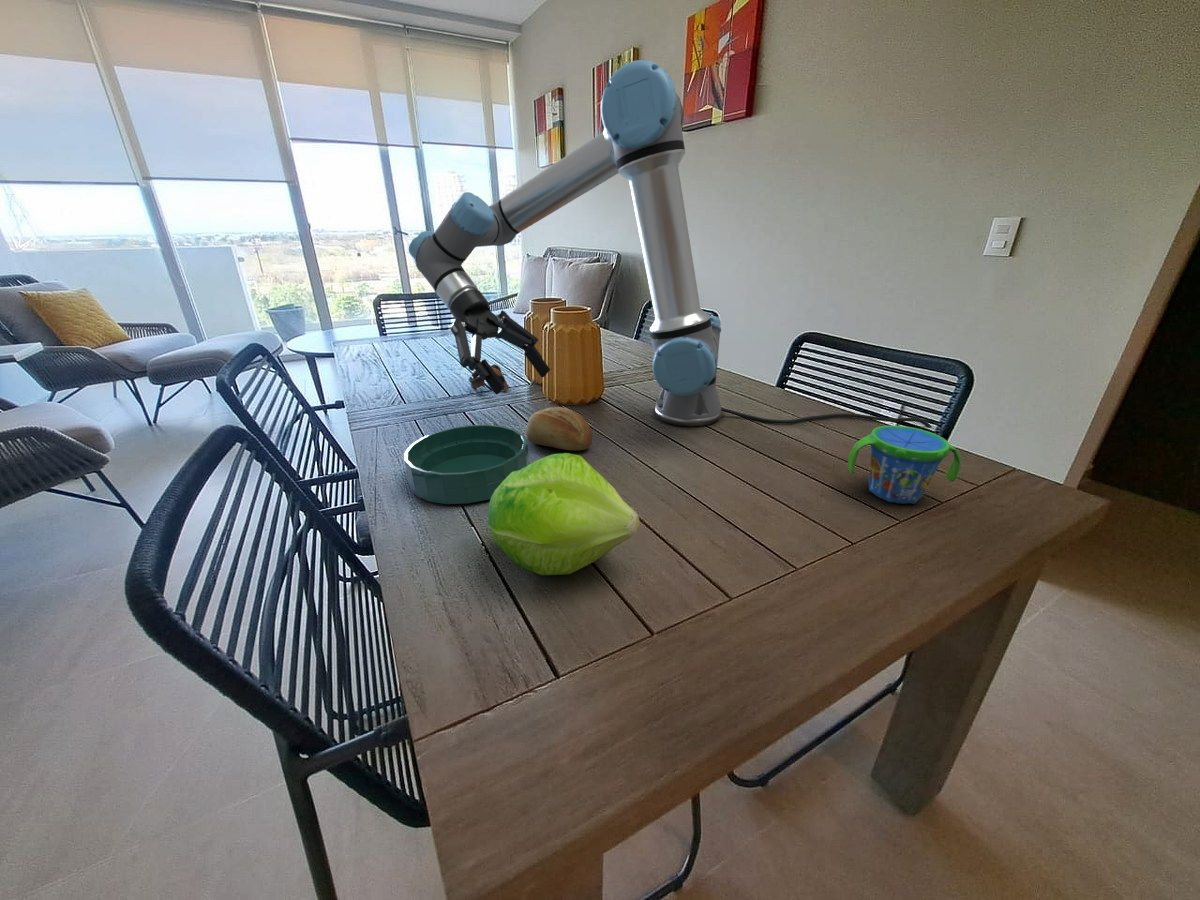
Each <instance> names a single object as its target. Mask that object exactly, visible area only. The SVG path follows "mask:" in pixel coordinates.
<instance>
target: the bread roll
mask: <svg viewBox="0 0 1200 900" xmlns="http://www.w3.org/2000/svg"><path fill="white" fill-rule="evenodd" d="M525 436H526V438H527V440H528V441H529V442H530V443H532V444H535V445H539V446H545V447H550V448H555V449H559V450H560V449H561V450H563V451H575V452H578V451H582V450H587V449H589V448H590V447H591V445H593V439H594V438H593V437H594V435H593V432H592V428H591V426H590V424H589V422H588V421H587V420H586V419H585V418H584V417H583V415H580V414H579V413H578V412H576V411H574V410H572V409H570V408H568V407H563V406H552V407H546V408H543V409H539V410H537V411H535V412H533V413H532V414H531V415H530V416H529V419H528V421H527V424H526V428H525Z"/></svg>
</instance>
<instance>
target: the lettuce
mask: <svg viewBox="0 0 1200 900" xmlns="http://www.w3.org/2000/svg"><path fill="white" fill-rule="evenodd" d="M487 525H488V529H489V532H490V535H491V538H492V541H493V542H494V544H495V545H496V546H497V547H498V548H499V549H500V550H501V551H502V552H503V553H504V554H505V555H506V556H507V558H509V560H510V561H512V563H513V564H514V565H516V566H518V567H521V568H523V569H525V570H528V571H531V572H533V573H535V574H538V575H540V576H555V575H556V576H559V575H571V574H573V573H575V572H578V571H579V570H581V569H583V568H585V567H587V566H589V565H591V564H592V563H594V562H596V561H597V560H599V559H600V558H602V557H603V556H605V555H606V554H608V553H609V552H610V551H612V550H613V549H614V548H615V547H617V546H619V545H621V544H622V543H624V542H625V541H627V540H629V539H630V538H632V537H633V536H634V535H635V534H636V533H637V532H638V530H639V528H640V517H639V515H638V514H637V512H636V511H635V509H633V508H632V507H631V506H630V505H629V504H628V503H627V502H626V501H625V500H624V499H623V498H622V497H621V496H620V494H619V493H618V491H617V490H616V489H615V488H614V487H613V486H612V485H611V484H610V482H609V481H608V480H607V479H606V478H605V477H603V476H602V474H601V473H599V472H598V471H597V470H596V469H594V468H593V466H592V465H590V463H588V462H587V461H586V460H585V459H584V457H582V456H581V455H580V454H574V453H569V452H562V453H552V454H550V455H546V456H544V457H541V458H538V459H536V460H534V461H532V462H531V463H529V465H528V466H526V467H524V468H522V469H521V470H517V471H514V472H512V473H511V474H510V475H509V476H508V477H507V478H506V479H505V480H504V481H503V482H502V483H501V484H500V485H499V486H498V487H497V489H496V490H495V491H494V493H493V495H492V497H491V499H489V504H488V518H487Z"/></svg>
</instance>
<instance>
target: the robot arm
mask: <svg viewBox="0 0 1200 900" xmlns="http://www.w3.org/2000/svg"><path fill="white" fill-rule="evenodd" d="M673 81H674V80H673V79H672V78H671V75H669V73H668V72H667V71H666V70H664V68H663V67H661V66H659V64H657V63H655V62H653V61H650V60H647V59H644V60H643V59H641V60H640V59H637V60H632V61H630V62H627V63H625V64H623V65H622V66H620V67H619V68H618V69H617V70H615V72H614V73H613V74H612V76H611V77H610V78H609V80H608V81H607V84H606V85H605V88H604V90H603V93H602V96H601V101H600V115H601V121H602V125H603V127H604V128H603V131H602V132H601V133H599V134H597V135H596V136H594V137H593V138H591V139H590V140H588V141H587V142H585V143H584V144H582V145H581V146H579V147H577V148H576V149H575V150H573V151H571V152H570V153H568V154H567V155H565V156H563V157H562V158H561V159H559V160H558V161H556V162H555V163H553V164H551V165H550V166H548V167H547V168H546V169H544V170H543V171H541V172H539V173H538V174H536V175H534V176H533V177H532V178H530V179H528V180H527V181H525V182H524V183H522V184H521V185H519V186H517V188H515V189H513V190H511V191H510V192H509V193H507V194H505V195H504V196H503V197H501V198H500V199H498V200H497V201H495V202H494V203H492V204H490V205H488V204H487V202H485V201H484V200H483V199H482V198H481V197H479V196H478V195H475V193H473V192H470V191H466V192H463V193H462V194H460V195H459V197H458V198H457V199H456V200H455V202H453V203H452V204H451V206H450V209H449V210H448V211H447V213H446V215H445V217H444V218H443V219H442V221H441V222H440V224H439V226H438V227H437V229H435V231H432V230H424V231H421V232H419V233H418V234H417V235H416V236H415V237H413V238H412V239H411V240H410V242H409V244H408V248H407V252H408V255H409V257H410V258H411V260H412V261H413V263H414V264H415V268H417V270H418V272H420V273H421V274H422V276H423V277H424V278H425V280H426V281H427V282H428V283H429V285H430V286H431V287H432V289H433V290H434V292H435V293H436V295H437V296H438V298H439V299H440V301H442V304H443V305H444V306H445V307H446V308H447V310H449V312H450V314H451V315H452V317H453V318H454V320H453V323H452V325H451V327H450V331H451V333H452V335H453V336H454V339H455V344H456V345H455V346H456V350H457V354H458V359H459V363H460V366H461V367H462V368H464V369H466V368H468V370H469V371H471V372H474V371H476V372H477V373H478V374H479V376H480V377H481V379H483V380H485V382H486V383H487V385H488V386H489V388H490V389H491V391H493V393H494V394H495V395H496V396H497V395H499V394H500V393H501V392H502V390H504V386H505V385H504V384H503V383H502V381H501V380H500V379H499V377H498V376H497V374H496V373H495V372H494V370H493V369H492V368H491V366H492V365H491V364H489V362H488V361H487V360H486V359H482V345H483V344H482V342H483V341H484V340H487V339H493V338H496V339H498V340H499V339H500V340H503V341H505V342H506V343H509V344H511V345H513V346H514V347H517V348H518V349H521V351H524V356H525V357H526V359H527V360H528V361H529V363H530V364H531V365H532V367H533V368H534V369H535V371H536V373H538V375H539V376H540V377H541V378H544V377H546V375H547V374H548V373H549V372H550V371H551V368H550V367H549V366H548V364H547V363H546V362H545V360H544V359H543V356H542V354H541V352H539V351H538V349H537V348H536V346H535V345H536V344H537V343H538V342H539V339H538V337H537V336H535V335H534V334H532V333H531V331H529V330H527V329H526V328H525V327H523V326H522V325H521V324H519V323H518V322H517V321H515V320H514V319H512V317H510V315H508V313H507V312H506V311H505V310H502V309H501V310H500V312H499V313H498V314H495V313H493V312H492V311H491V308H490V307H491V306H490V302H489V301H488V300H487V298H486V297H485V296H484V295H483V293H482V292H481V290H479V288H478V286H477V285H476V283H475V282H474V281H473V279H472V278H471V277H470V275H469V274H468V273H467V272H466V271H465V269H464V267H463V266H462V265H463V264H464V262H465V261H466V260H467V259H468V257H470V255H471V253H472V252H473V251H474V250H475V249H476V248H479V247H493V246H494V247H495V246H496V247H502V246H505V245H507V244H510V243H512V242H513V241H514V239H516V237H517V236H518V234H520V233H521V232H523V231H525V230H526V229H528V228H529V227H531V226H533V225H534V224H536V223H538V222H540V221H542V220H543V219H545V218H546V217H548V216H549V215H551V214H553V213H555V212H556V211H558V210H560V209H561V208H563V207H565V206H566V205H568V204H570V203H571V202H573V201H575V200H577V199H578V198H579V197H581V196H583V195H585V194H586V193H588V192H589V191H591V190H593V189H594V188H596V187H598V186H599V185H601V184H603V183H604V182H606V181H608V180H609V179H611V178H613V177H615V176H616V175H620V176H622V177H623V178H624V179H626V180H627V181H628V182H629V189H630V194H631V199H632V204H633V209H634V210H633V211H634V215H635V220H636V225H637V229H638V231H637V232H638V236H639V241H640V245H641V251H642V256H643V262H644V267H645V272H646V276H647V282H648V288H649V292H650V297H651V304H652V308H653V313H654V321H653V323H652V324H651V326H650V328H649V335H650V339H651V345H652V351H653V354H654V355H653V357H652V363H651V364H652V366H651V367H652V373H653V377H654V379H655V381H656V382H657V384H658V385H659V387H661V390H660V393H659V396H658V397H655V407H654V408H655V412H654V413H655V416H656V418H657V419H658V420H660V421H661V422H664V423H666V424H670V425H674V426H679V427H702V426H703V427H704V426H708V425H712V424H714V423H717V422H718V421H720V420H721V418H722V412H723V413H726V414H730V415H734V416H737V417H741V418H745V419H748V420H749V419H750V420H753V421H757V422H762V423H769V424H779V425H780V424H783V425H784V424H785V425H787V424H797V423H802V422H807V421H814V420H822V419H831V418H857V419H865V420H872V421H878V422H888V423H900V422H901V423H902V422H916V423H920V424H922V425H923V426H925V427H926V428H929V429H932V428H933V427H932V425H931V424H930V423H929V422H928V421H926V420H924V419H922V418H920V417H896V418H895V417H882V416H875V415H867V414H861V413H846V412H845V413H844V412H841V413H825V414H818V415H811V416H804V417H800V418H792V419H772V418H764V417H759V416H755V415H751V414H746V413H743V412H739V411H735V410H732V409H729V408H725V407H722V405H721V401H720V397H719V394H718V393H719V392H718V389H717V371H718V363H719V350H720V349H719V348H720V338H721V332H722V327H721V325H722V324H721V323H722V322H721V318H720V317H719V316H716V315H710V314H708V313H707V312H706V311H704V310H703V309H702V308H701V304H700V297H699V292H698V285H697V278H696V271H695V265H694V258H693V253H692V247H691V240H690V232H689V227H688V221H687V220H688V219H687V214H686V209H685V201H684V196H683V188H682V183H681V175H680V170H679V167H680V164H681V162H682V160H683V158H684V156H685V155H686V149H685V148H686V147H685V141H684V136H683V135H684V134H683V124H684V110H683V109H684V107H683V104H682V101H681V99H680V96H679V94H678V93H677V92H676V88H675V84H674V82H673ZM467 332H468V333H469V334H470V345H469V340H468V336H467V335H468V334H467ZM481 359H482V360H481ZM479 376H478V377H479Z"/></svg>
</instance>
